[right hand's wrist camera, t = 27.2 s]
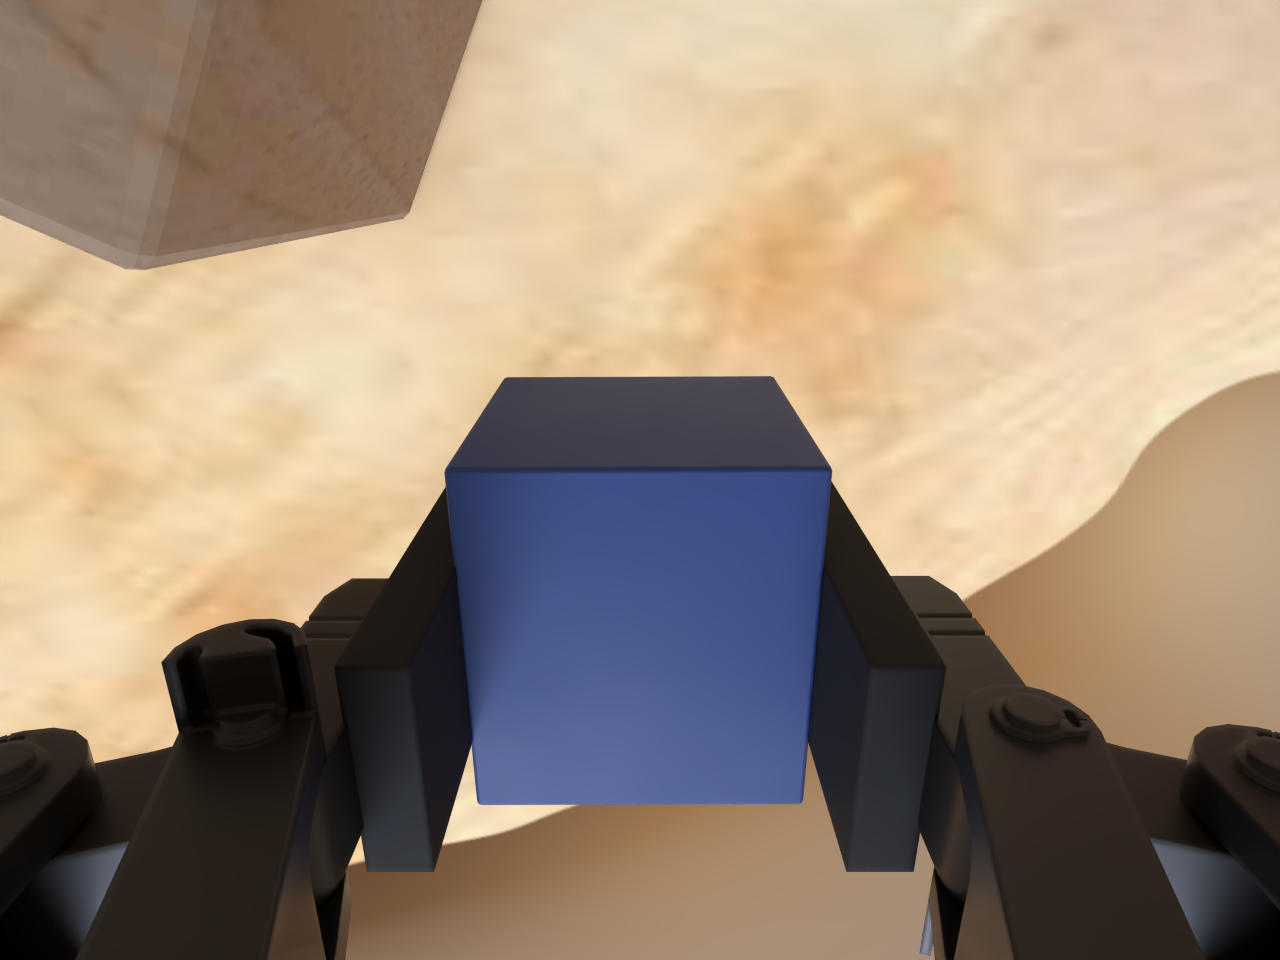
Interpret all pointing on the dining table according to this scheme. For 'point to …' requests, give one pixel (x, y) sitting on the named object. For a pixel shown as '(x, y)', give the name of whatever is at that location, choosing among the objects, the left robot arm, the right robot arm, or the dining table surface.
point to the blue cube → (639, 590)
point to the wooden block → (218, 118)
